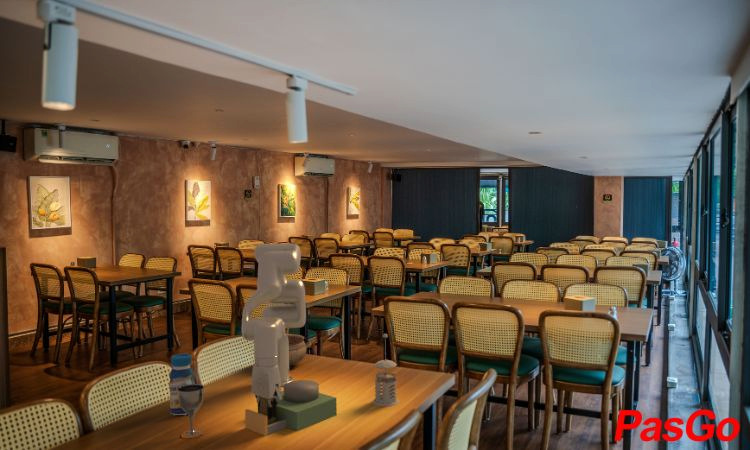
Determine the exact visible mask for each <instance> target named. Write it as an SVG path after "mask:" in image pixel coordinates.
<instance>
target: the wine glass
mask: <svg viewBox="0 0 750 450" xmlns="http://www.w3.org/2000/svg"><path fill="white" fill-rule="evenodd" d="M204 394H205V386H204V384H200V383H194V384H188V385H183V386H181V387H179V388H178V400H179V404H180V407H181V408H182V409H183V410H184V411H185V412H186V413H187V414H188V419H189V425H190V427H189V429H190V430H187V431H188V432H186V431H185V432H186V433H185V434H186V435H188V436H191V435H197V434H200V431H197V430H198V429H194V418H195V414H196V413H197V412H198V411H199V409H200V408H201V406H202V405H203V401H204V396H205V395H204Z"/></svg>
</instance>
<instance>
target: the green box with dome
mask: <svg viewBox="0 0 750 450" xmlns="http://www.w3.org/2000/svg"><path fill="white" fill-rule="evenodd" d="M319 385H320V384H319V383H318V382H317V381H313V380H308V379H307V380H305V379H303V380H301V379H300V380H293V381H292V382H289V383H286V384H285V385H284V386H283V390H281V396H282V400H281V401H279V402H278V405H276V421H277V422H275V423H273V424H270V425H268V424H267V416H266V415H263V414H260V413H258V411H253V410H251V409H249V408H247V409H245V411H244V413H245V414H244V415H245V417H244V419H245V422H244V423H245V429H247V430H248V431H249V430H250V431H253V432H255V433H257V434H260V435H262V436H264V437H266V436H268V435H270V434H273V433H276V432H278V431H281V430H283V429H285V428H287V429H288V428H289V429H291V430H294V431H297V432H299V431H301V430H304V429H305V428H309V427H311V426H313V425H315V424H318V423H320V422H322V421H325V420H327V419H331V418H333V417H335V416H337V414H338V413H337V411H338V410H337V397H335V396H332V395H329V394H325V393H322V392H319V391H320V389H319V387H320V386H319ZM258 404H259V403H257V405H258Z"/></svg>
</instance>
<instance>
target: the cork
mask: <svg viewBox="0 0 750 450" xmlns="http://www.w3.org/2000/svg"><path fill="white" fill-rule="evenodd" d="M259 399H260V409H259V413H260V414H263V415H266V416H267V424H268V425H270V424H273V423H275V422H277V421H276V417H275V418H274V417H272V418H271V419H268V412H267V408H268V407H269V404H268V399H266V398H263V397H260V396H259ZM271 400H272V401H273V399H271Z"/></svg>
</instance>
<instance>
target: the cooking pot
mask: <svg viewBox="0 0 750 450" xmlns="http://www.w3.org/2000/svg"><path fill="white" fill-rule="evenodd" d="M285 334H286V335H287V337H288V340H289V368H291V367H293V366H295V365H297V364H298V363H299V362H301V361H302V360H303V359H304V358H305V357H306V353H307V349H308V348H310V347H311V346H312V343H311V342H306V343H305V341H304V340H305V336H303V335H300V334H296V333H295V334H293V333H285Z"/></svg>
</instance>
